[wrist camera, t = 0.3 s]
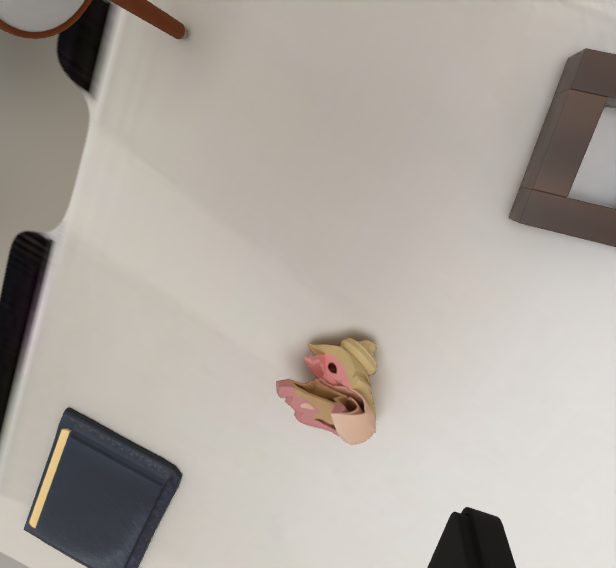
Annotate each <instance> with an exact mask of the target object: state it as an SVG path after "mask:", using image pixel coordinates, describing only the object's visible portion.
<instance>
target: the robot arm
mask: <svg viewBox="0 0 616 568" xmlns="http://www.w3.org/2000/svg"><path fill="white" fill-rule="evenodd" d="M428 568H516V566H515V563H514V560H513V556H512V553H511V550H510V547H509V543H508V540H507V537H506V534H505V531H504V527H503V524H502V522H501V520H500V519H499V518H498V517H497V516H494V515H490V514H487V513H484V512H481V511H478V510H475V509H472V508H469V507H465V508H464V509H463V511H462V512H461V514H460V513H457V512H453V513H452V514H451V516H450V518H449V520H448V522H447V524H446V527H445V529H444V531H443V533H442V536H441V538H440V540H439V543H438V545H437V547H436V549H435V552H434V554H433V556H432V559H431V561H430V563H429V565H428Z"/></svg>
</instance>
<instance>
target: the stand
mask: <svg viewBox="0 0 616 568" xmlns="http://www.w3.org/2000/svg"><path fill="white" fill-rule="evenodd" d="M604 106H608V107H613V108H616V54H611V53H606V52H601V51H596V50H591V49H587V48H586V49H584V50H582V51H580V52H579V53H577V54H575V55H573V56H572V57H570V58H568V60H567V63H566V66H565V68H564V71H563V74H562V76H561V79H560V82H559V84H558V87H557V90H556V92H555V96H554V98H553V101H552V103H551V106H550V109H549V111H548V114H547V117H546V119H545V122H544V125H543V127H542V130H541V133H540V135H539V138H538V141H537V143H536V146H535V149H534V151H533V154H532V157H531V160H530V162H529V165H528V168H527V170H526V173H525V176H524V178H523V181H522V184H521V187H520V189H519V192H518V194H517V197H516V200H515V202H514V205H513V208H512V210H511V213H510V216H509V218H510V219H512V220H514V221H516V222H518V223H521V224H525V225H530V226H534V227H538V228H542V229H546V230H550V231H554V232H558V233H562V234H566V235H570V236H574V237H578V238H582V239H586V240H590V241H594V242H598V243H602V244H606V245H610V246H614V247H616V209H612V208H608V207H604V206H600V205H595V204H591V203H587V202H583V201H579V200H575V199H570V198H566V197H567V196H568V194H569V191H570V189H571V187H572V184H573V182H574V179H575V177H576V174H577V172H578V169H579V167H580V165H581V162H582V160H583V157H584V155H585V152H586V150H587V147H588V145H589V143H590V140H591V138H592V135H593V133H594V130H595V128H596V125H597V123H598V121H599V118H600V116H601V113H602V111H603V108H604Z"/></svg>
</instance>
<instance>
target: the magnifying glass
mask: <svg viewBox="0 0 616 568" xmlns="http://www.w3.org/2000/svg"><path fill="white" fill-rule="evenodd" d="M91 1H92V0H0V29H2V30H4V31H6V32H8V33H10V34H13V35H15V36H19V37H23V38H33V39H37V38H46V37H50V36H54V35H56V34H58V33H61V32H62V31H64V30H66V29H67V28H69V27H70V26H71V25H72V24H74V23H75V22H76V21H77V20H78V19H79V18H80V17H81V15H82V14H83V13H84V11H85V10H86V9H87V7H88V6H89V4H90V2H91ZM110 1H111V2H113V3H115V4H117V5H118V6H120V7H122V8H124V9H125V10H127V11H129V12H131V13H132V14H134V15H136V16H138V17H139V18H141V19H143V20H145V21H146V22H148V23H150V24H152V25H153V26H155V27H157V28H159V29H160V30H162V31H164V32H166V33H167V34H169V35H171V36H173V37H174V38H176V39H181V38H185V37H186V35H187V31H186V30H185V27H184V25H183V24H182V23H180V22H179V21H177V20H176V19H174V18H173V17H171V16H170V15H168V14H167V13H165V12H164V11H162V10H161V9H159V8H158V7H156V6H155V5H153V4H152V3H150V2H149V1H147V0H110Z"/></svg>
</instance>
